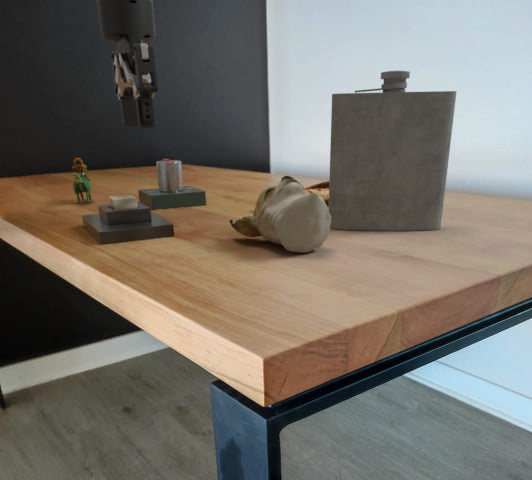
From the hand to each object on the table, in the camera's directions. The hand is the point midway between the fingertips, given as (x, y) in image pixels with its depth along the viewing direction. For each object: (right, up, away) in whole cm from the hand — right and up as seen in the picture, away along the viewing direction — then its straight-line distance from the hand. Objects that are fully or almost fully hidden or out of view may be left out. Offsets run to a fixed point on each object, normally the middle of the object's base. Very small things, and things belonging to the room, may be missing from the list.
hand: (138, 127), depth 81 cm
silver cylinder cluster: (+2, -4, +18) cm, 18 cm away
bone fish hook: (+27, -8, +16) cm, 32 cm away
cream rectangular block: (-1, -14, -4) cm, 14 cm away
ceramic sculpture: (+22, -20, -12) cm, 32 cm away
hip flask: (+36, -16, -4) cm, 40 cm away
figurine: (-16, -5, +22) cm, 28 cm away
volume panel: (+2, -6, +19) cm, 20 cm away
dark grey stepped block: (-1, -16, -3) cm, 17 cm away
